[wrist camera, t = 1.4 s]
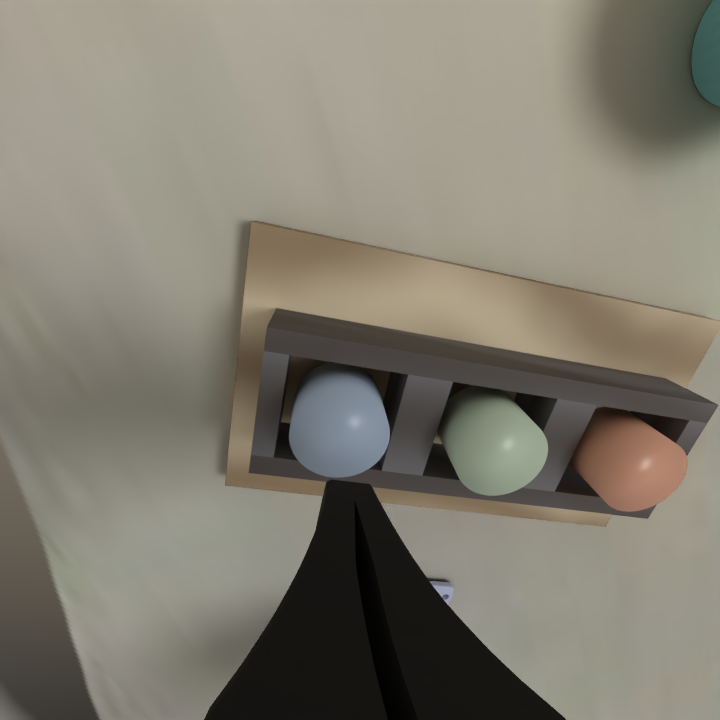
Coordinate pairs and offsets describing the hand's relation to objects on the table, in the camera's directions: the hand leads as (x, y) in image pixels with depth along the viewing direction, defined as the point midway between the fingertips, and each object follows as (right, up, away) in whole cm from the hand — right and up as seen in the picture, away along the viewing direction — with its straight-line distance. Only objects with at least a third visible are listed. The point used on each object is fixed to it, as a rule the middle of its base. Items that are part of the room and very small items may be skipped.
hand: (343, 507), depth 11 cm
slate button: (-1, +3, +6) cm, 7 cm away
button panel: (+6, +2, +10) cm, 12 cm away
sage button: (+6, +1, +7) cm, 10 cm away
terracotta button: (+13, 0, +8) cm, 16 cm away
